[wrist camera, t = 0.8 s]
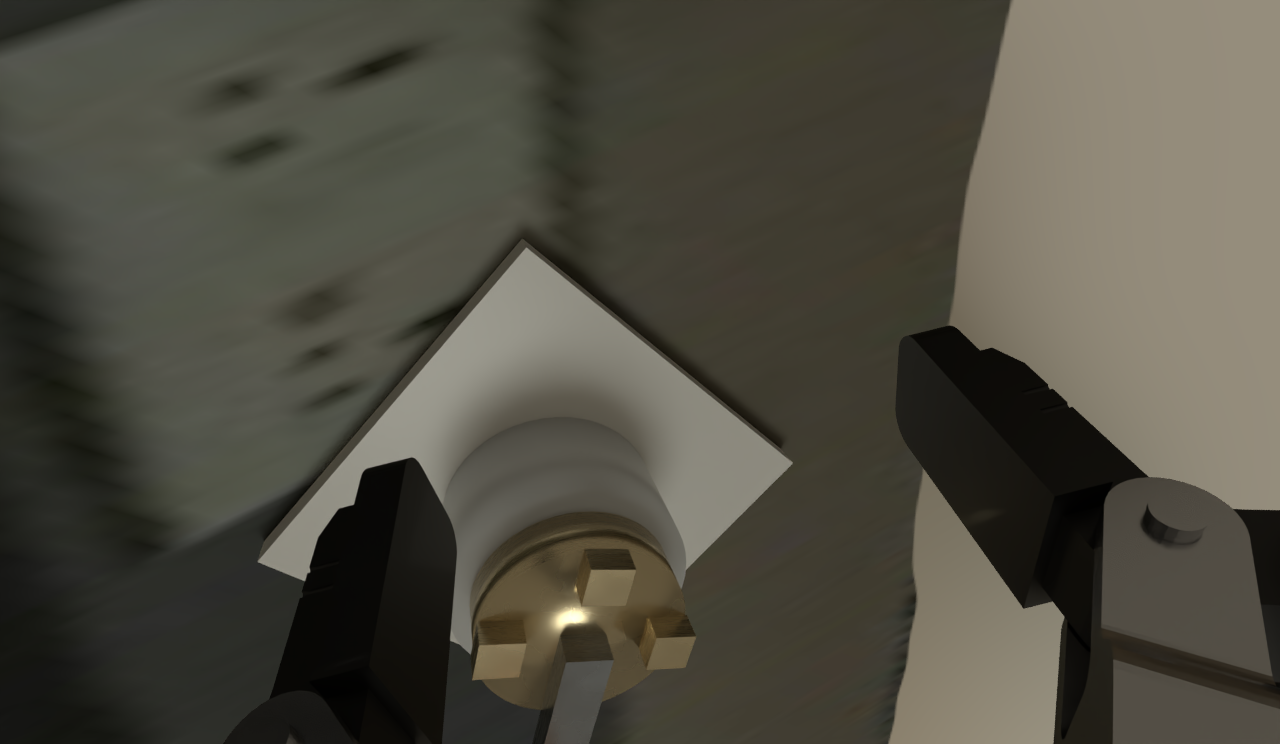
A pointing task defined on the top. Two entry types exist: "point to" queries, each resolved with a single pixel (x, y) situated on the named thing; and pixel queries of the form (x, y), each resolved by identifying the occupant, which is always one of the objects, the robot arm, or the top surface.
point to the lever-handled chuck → (575, 619)
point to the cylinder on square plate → (546, 432)
